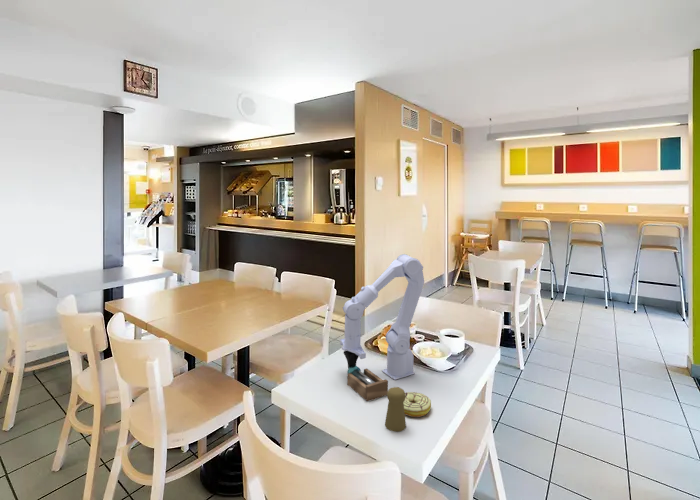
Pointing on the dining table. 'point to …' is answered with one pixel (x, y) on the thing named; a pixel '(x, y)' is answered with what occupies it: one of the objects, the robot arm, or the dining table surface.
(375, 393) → the housing
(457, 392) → the dining table surface
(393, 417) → the olive brown pawn
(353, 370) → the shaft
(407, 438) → the dining table surface
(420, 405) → the decorated donut
